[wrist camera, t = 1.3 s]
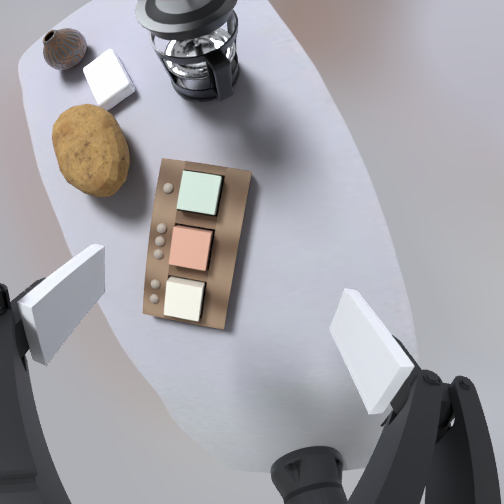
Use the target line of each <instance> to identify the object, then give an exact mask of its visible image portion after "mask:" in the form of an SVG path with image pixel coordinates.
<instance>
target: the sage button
mask: <svg viewBox="0 0 504 504" xmlns="http://www.w3.org/2000/svg"><path fill="white" fill-rule="evenodd" d="M222 180H223V178H222V177H221V176H217V175H211V174H204V173H198V172H191V171H183V174H182V179H181V185H180V190H179V196H178V202H177V208H176V209H182V210H188V211H194V212H201V213H207V214H213V215H215V214H216V213H217V207H218V202H219V196H220V191H221V185H222Z"/></svg>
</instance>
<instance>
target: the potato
mask: <svg viewBox="0 0 504 504" xmlns="http://www.w3.org/2000/svg"><path fill="white" fill-rule="evenodd" d="M52 141H53V146H54V150H55V154H56V157H57V160H58V164H59V168H60V171H61V173H62V174H63V176H64V177H65V179H66V181H67V182H68V183H70V184H71V185H73V186H74V187H76V188H77V189H79V190H80V191H82V192H84V193H86V194H89V195H92V196H96V197H99V198H101V197H108V196H112V195H114V194H115V193H116V192H117V191H118V190H119V188H120V187H121V186H122V185H123V183H124V182H125V181H126V178H127V174H128V170H129V165H130V158H129V149H128V145H127V142H126V139H125V137H124V135H123V132H122V130H121V128H120V126H119V124H118V122H117V121H116V119H115V118H114V116H113V115H112V114H111V113H109V112H108V111H106V110H105V109H103V108H101V107H98V106H95V105H91V104H84V105H78V106H74V107H71V108H69V109H68V110H66V111H65V112H63V113H62V114H61V115H60V116H59V117H58V119H57V120H56V122H55V123H54V125H53V133H52Z"/></svg>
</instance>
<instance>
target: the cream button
mask: <svg viewBox="0 0 504 504" xmlns="http://www.w3.org/2000/svg"><path fill="white" fill-rule="evenodd" d="M204 288H205V281H199V280H194V279H188V278H183V277H177V276H171V277H170V278H169V279H168V280H167V283H166V293H165V304H164V315H168V316H173V317H178V318H183V319H188V320H193V321H198V320H199V317H200V314H201V310H202V303H203V295H204Z"/></svg>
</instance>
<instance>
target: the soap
mask: <svg viewBox="0 0 504 504" xmlns="http://www.w3.org/2000/svg"><path fill="white" fill-rule="evenodd" d="M83 72H84V74H85V77H86V79H87V81H88V84H89V86H90V88H91V91H92V93H93V95H94V97H95V100H96V102H97V104H98V106H99V107H101V108H103V109H105V110H106V111H108V110H110V109H111V108H112V107H114V106H115V105H117V104H118V103H119V102H121V101H122V100H124V99H125V98H126V97H128V96H129V95H131V94H132V93H134V91H135V87H134V85H133V83H132V81H131V79H130V78H129V76H128V74H127V72H126V70H125V68H124V66H123V65H122V63H121V61H120V59H119V57H118V55H117V54H116V53H115V52H114V51H113V50H112V49H109V50H107V51H106V52H104V53H103V54H101V56H99V57H98V58H96V59H95V60H94V61H92V62H91V63H90V64H88V65H87V66H85V67H84V69H83Z"/></svg>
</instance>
